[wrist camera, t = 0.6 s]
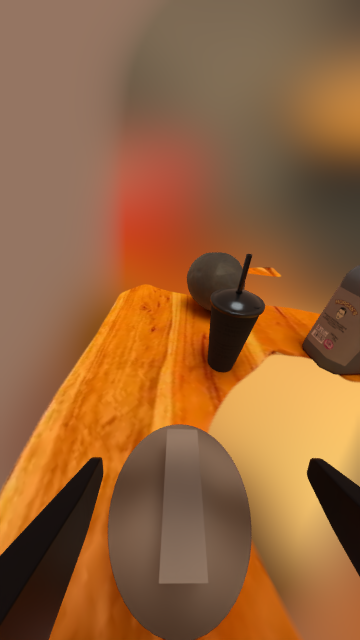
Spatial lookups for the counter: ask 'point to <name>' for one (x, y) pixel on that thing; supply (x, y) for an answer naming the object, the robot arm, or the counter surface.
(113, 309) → the counter surface
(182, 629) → the lid
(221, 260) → the dark grey round stone
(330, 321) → the liquor
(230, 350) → the drinking cup
